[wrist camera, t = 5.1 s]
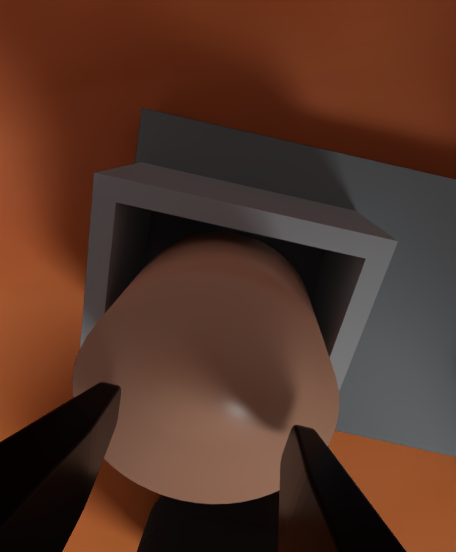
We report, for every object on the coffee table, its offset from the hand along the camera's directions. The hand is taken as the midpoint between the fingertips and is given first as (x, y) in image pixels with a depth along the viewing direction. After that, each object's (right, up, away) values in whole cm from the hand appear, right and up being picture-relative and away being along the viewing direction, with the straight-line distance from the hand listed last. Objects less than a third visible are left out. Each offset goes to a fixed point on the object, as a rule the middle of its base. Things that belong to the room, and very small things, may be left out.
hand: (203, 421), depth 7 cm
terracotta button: (0, +1, +4) cm, 4 cm away
